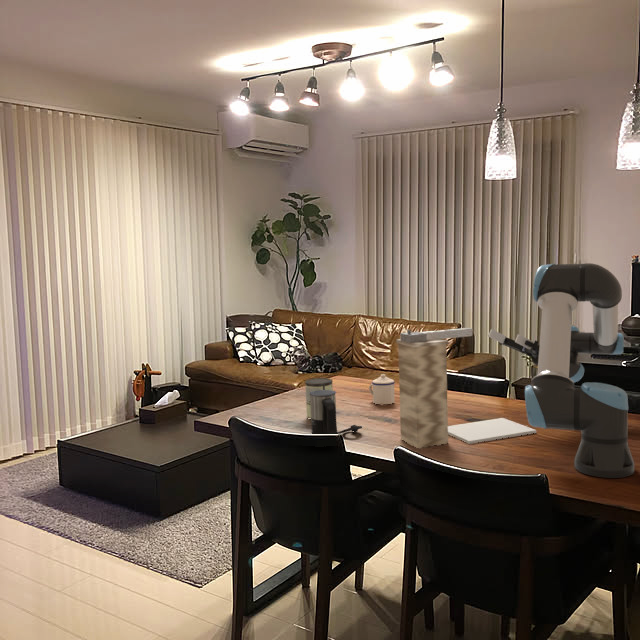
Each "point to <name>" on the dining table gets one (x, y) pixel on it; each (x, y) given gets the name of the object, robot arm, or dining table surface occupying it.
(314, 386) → the coffee can
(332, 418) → the milk frother
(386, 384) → the teacup with lid
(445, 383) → the beige zigzag tall box
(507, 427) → the mat
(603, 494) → the dining table surface
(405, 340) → the brushed metal bar
